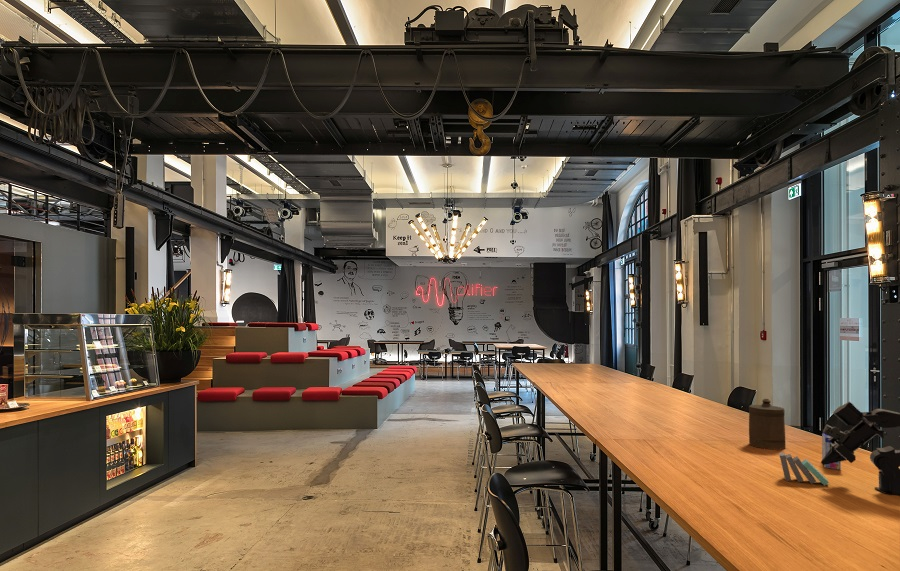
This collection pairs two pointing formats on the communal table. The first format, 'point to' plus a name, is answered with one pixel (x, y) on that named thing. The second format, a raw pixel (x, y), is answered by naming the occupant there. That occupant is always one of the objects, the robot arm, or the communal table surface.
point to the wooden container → (767, 426)
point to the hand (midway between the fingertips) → (821, 463)
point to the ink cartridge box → (825, 450)
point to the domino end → (785, 466)
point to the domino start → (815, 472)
